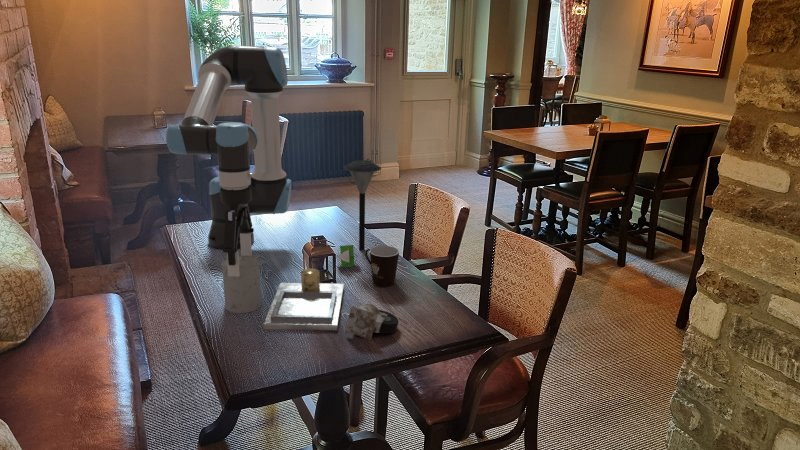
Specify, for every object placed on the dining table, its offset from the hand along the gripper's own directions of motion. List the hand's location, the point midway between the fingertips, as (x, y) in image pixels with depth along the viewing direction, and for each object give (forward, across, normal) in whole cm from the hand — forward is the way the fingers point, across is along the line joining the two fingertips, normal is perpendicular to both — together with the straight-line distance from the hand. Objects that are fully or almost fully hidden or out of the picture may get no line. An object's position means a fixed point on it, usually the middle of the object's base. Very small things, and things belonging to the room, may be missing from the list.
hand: (240, 265), depth 148 cm
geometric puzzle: (+11, +28, -26) cm, 40 cm away
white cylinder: (+12, 0, 0) cm, 12 cm away
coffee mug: (+11, +18, -37) cm, 42 cm away
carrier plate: (+12, 0, -17) cm, 21 cm away
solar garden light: (+11, +42, -30) cm, 53 cm away
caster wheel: (+12, -12, -35) cm, 39 cm away
